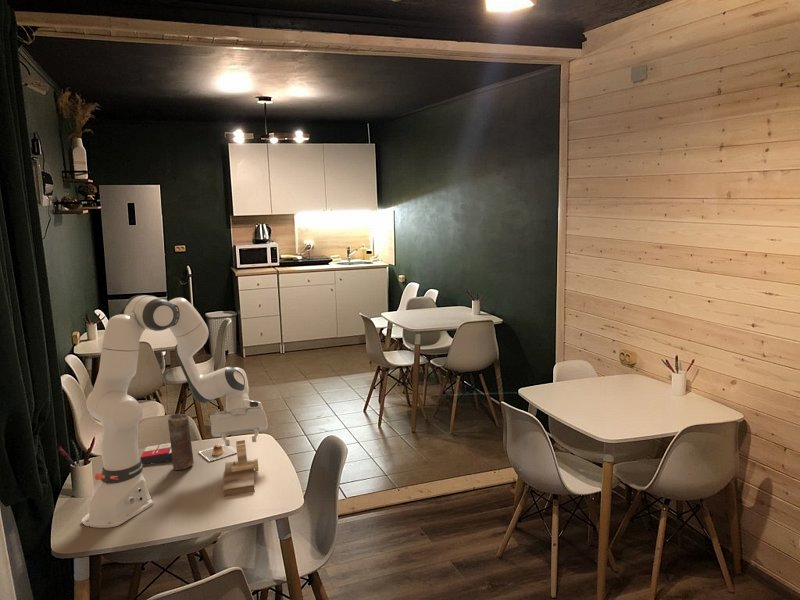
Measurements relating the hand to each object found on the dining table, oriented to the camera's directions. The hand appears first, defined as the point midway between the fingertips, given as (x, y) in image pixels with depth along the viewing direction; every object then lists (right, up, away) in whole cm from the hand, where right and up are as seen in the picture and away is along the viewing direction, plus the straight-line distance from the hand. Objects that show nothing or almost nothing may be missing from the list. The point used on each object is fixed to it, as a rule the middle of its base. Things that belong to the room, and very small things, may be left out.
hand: (241, 443), depth 228 cm
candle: (-23, -11, +8) cm, 27 cm away
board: (+1, -11, -6) cm, 13 cm away
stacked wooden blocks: (+2, -9, -1) cm, 9 cm away
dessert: (-13, -9, +19) cm, 25 cm away
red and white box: (-35, -10, +18) cm, 40 cm away
